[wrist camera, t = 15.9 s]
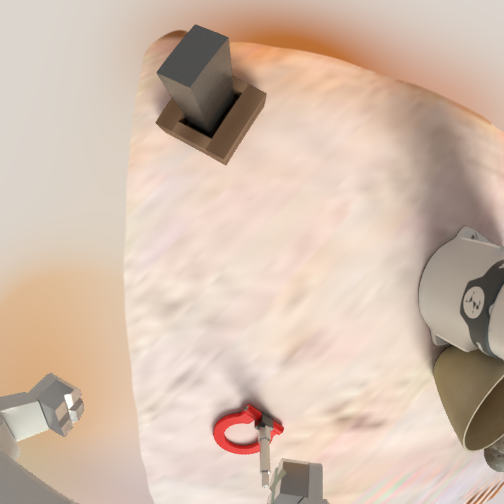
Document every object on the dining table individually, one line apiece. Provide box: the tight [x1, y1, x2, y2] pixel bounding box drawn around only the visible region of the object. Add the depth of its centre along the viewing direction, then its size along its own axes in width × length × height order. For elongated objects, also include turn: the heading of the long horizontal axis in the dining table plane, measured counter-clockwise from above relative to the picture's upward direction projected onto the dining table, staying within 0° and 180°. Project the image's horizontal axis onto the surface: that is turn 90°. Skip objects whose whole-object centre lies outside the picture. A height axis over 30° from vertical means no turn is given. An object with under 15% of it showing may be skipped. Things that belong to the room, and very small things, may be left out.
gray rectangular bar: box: [157, 25, 235, 138], centre depth 26 cm, size 3×5×16 cm, turn 149°
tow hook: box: [213, 404, 284, 488], centre depth 34 cm, size 9×14×10 cm
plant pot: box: [433, 345, 504, 452], centre depth 33 cm, size 15×15×16 cm
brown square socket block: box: [156, 76, 266, 165], centre depth 33 cm, size 9×9×4 cm
